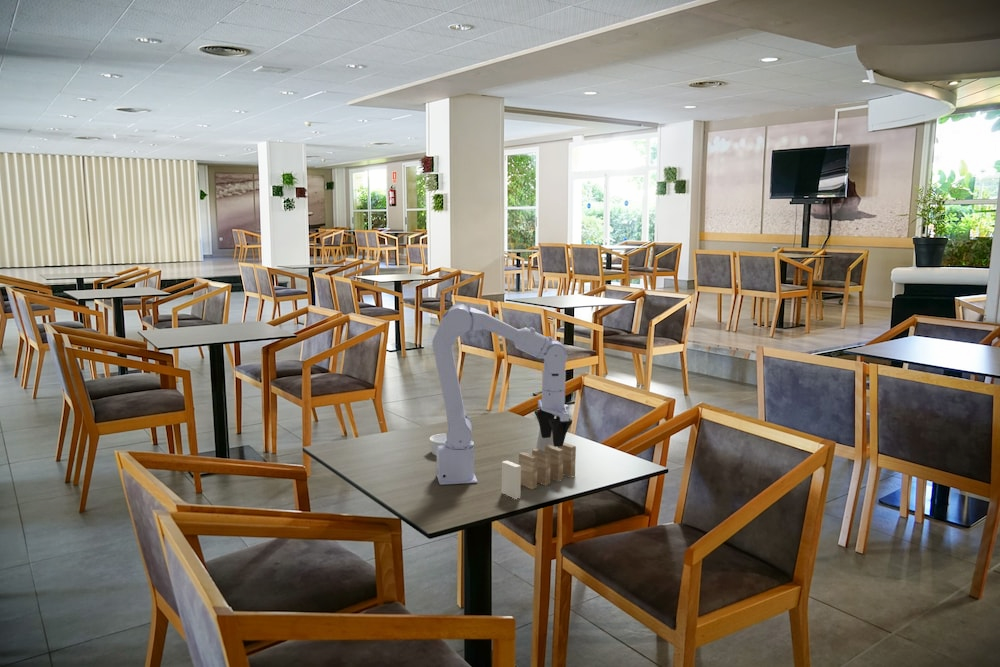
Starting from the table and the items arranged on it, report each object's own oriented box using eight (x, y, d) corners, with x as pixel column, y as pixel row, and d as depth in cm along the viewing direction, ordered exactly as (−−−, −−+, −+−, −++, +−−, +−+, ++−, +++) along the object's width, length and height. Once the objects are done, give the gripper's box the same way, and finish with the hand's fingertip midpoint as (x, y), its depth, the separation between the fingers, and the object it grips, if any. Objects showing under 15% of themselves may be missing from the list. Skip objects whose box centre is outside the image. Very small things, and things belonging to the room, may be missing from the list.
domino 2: (545, 485, 191) (546, 454, 190) (531, 480, 195) (532, 449, 194) (549, 484, 192) (550, 453, 191) (536, 478, 196) (536, 448, 195)
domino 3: (558, 481, 194) (558, 450, 193) (544, 476, 198) (545, 446, 197) (562, 480, 195) (563, 449, 194) (548, 474, 199) (549, 445, 198)
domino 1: (532, 489, 188) (532, 458, 187) (518, 484, 192) (518, 453, 191) (536, 488, 189) (537, 456, 188) (523, 482, 193) (523, 451, 192)
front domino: (515, 499, 182) (515, 467, 180) (501, 493, 185) (501, 461, 184) (520, 498, 183) (520, 465, 181) (506, 492, 186) (506, 460, 185)
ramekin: (460, 458, 212) (460, 442, 211) (427, 457, 212) (427, 442, 211) (462, 448, 221) (462, 433, 220) (431, 447, 221) (431, 433, 220)
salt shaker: (538, 465, 206) (539, 418, 204) (532, 458, 212) (533, 412, 209) (559, 463, 208) (560, 416, 206) (552, 457, 213) (553, 411, 211)
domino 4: (570, 477, 197) (571, 447, 196) (556, 472, 201) (557, 442, 199) (575, 476, 198) (575, 446, 197) (561, 471, 202) (561, 441, 200)
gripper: (580, 394, 187) (579, 448, 189) (556, 381, 200) (554, 432, 202) (554, 396, 184) (552, 451, 187) (531, 383, 198) (530, 434, 200)
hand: (552, 441), depth 194 cm, fingers open, 7 cm apart
